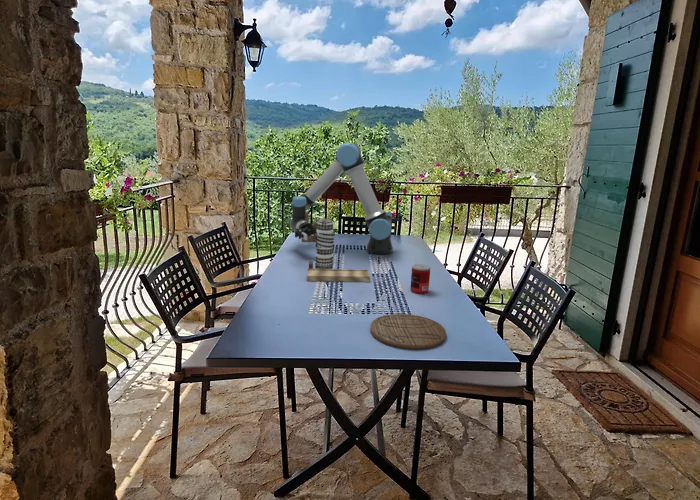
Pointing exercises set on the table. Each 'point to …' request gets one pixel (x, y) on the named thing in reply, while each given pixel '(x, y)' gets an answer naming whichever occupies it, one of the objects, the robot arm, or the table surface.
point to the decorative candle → (324, 244)
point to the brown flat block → (310, 264)
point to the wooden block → (311, 238)
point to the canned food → (420, 278)
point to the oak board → (338, 275)
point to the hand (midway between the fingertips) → (319, 236)
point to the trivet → (408, 331)
